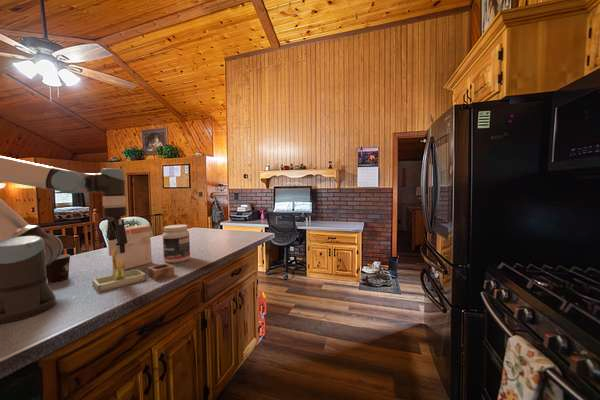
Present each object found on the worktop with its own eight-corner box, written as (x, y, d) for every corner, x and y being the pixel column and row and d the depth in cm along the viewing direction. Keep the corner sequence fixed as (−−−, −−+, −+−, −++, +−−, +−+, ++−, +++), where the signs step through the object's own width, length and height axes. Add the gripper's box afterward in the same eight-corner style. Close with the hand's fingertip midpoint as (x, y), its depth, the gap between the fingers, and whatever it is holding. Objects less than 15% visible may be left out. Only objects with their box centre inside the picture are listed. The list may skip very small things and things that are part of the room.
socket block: (154, 280, 105) (154, 271, 105) (148, 276, 110) (147, 267, 110) (174, 275, 111) (174, 266, 111) (167, 271, 116) (166, 262, 116)
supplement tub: (158, 262, 131) (156, 227, 130) (178, 255, 143) (176, 223, 142) (176, 264, 126) (174, 228, 125) (195, 257, 138) (194, 224, 137)
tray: (98, 292, 94) (98, 285, 94) (92, 285, 101) (92, 279, 101) (146, 279, 106) (145, 273, 106) (137, 274, 114) (137, 268, 113)
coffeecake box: (146, 260, 135) (144, 224, 134) (152, 262, 131) (150, 225, 130) (113, 268, 123) (110, 229, 122) (118, 271, 119) (116, 230, 118)
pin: (115, 283, 101) (113, 251, 100) (112, 281, 104) (110, 250, 103) (126, 280, 104) (124, 249, 103) (124, 278, 107) (122, 248, 106)
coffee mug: (54, 284, 103) (52, 260, 103) (38, 283, 105) (36, 259, 105) (83, 274, 115) (82, 253, 114) (68, 273, 117) (67, 252, 116)
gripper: (135, 207, 97) (137, 261, 98) (117, 204, 113) (119, 251, 114) (111, 208, 91) (114, 266, 92) (96, 206, 107) (99, 254, 109)
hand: (117, 258), depth 103 cm, fingers open, 13 cm apart
